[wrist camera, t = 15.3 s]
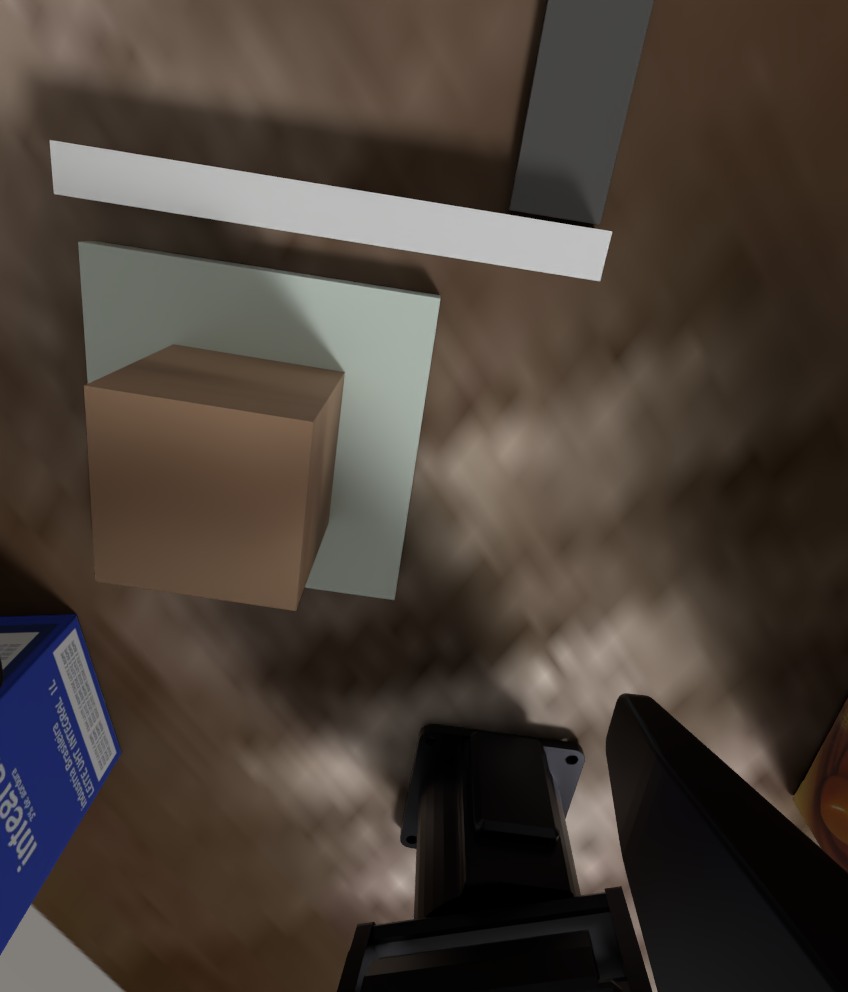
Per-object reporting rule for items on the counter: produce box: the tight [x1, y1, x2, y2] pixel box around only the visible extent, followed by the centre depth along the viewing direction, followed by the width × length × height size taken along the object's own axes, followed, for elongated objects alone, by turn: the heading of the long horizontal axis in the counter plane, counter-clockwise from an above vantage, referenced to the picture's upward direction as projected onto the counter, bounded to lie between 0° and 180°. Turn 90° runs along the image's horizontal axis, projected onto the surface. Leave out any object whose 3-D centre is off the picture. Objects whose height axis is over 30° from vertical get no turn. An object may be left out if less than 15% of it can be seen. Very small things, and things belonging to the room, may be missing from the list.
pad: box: [78, 241, 440, 600], centre depth 20 cm, size 10×10×1 cm
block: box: [84, 344, 345, 611], centre depth 17 cm, size 5×5×5 cm
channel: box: [50, 0, 654, 281], centre depth 15 cm, size 10×14×2 cm
